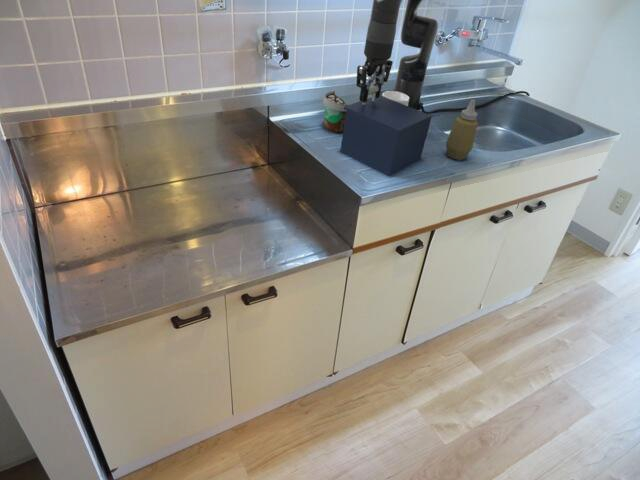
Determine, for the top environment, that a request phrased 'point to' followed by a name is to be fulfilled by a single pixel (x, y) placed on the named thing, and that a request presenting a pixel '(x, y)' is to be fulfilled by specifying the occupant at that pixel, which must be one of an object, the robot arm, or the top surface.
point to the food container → (334, 113)
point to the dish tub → (382, 143)
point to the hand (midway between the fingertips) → (369, 99)
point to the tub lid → (388, 112)
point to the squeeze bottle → (462, 133)
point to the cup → (397, 97)
